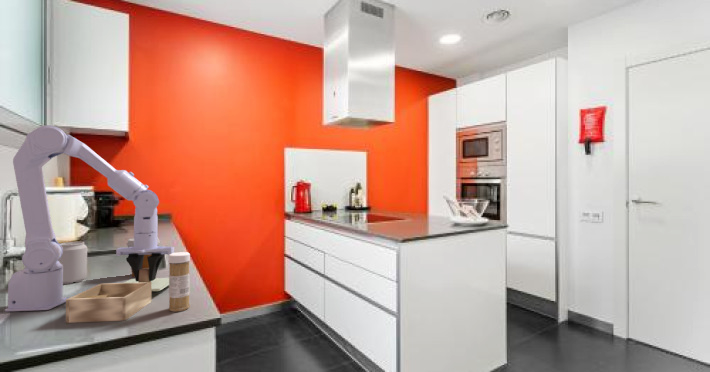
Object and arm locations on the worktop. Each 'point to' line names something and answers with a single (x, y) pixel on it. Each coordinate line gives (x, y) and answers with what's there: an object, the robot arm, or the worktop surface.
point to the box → (108, 302)
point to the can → (74, 262)
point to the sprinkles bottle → (179, 281)
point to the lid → (155, 284)
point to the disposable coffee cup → (145, 260)
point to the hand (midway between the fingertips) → (145, 280)
